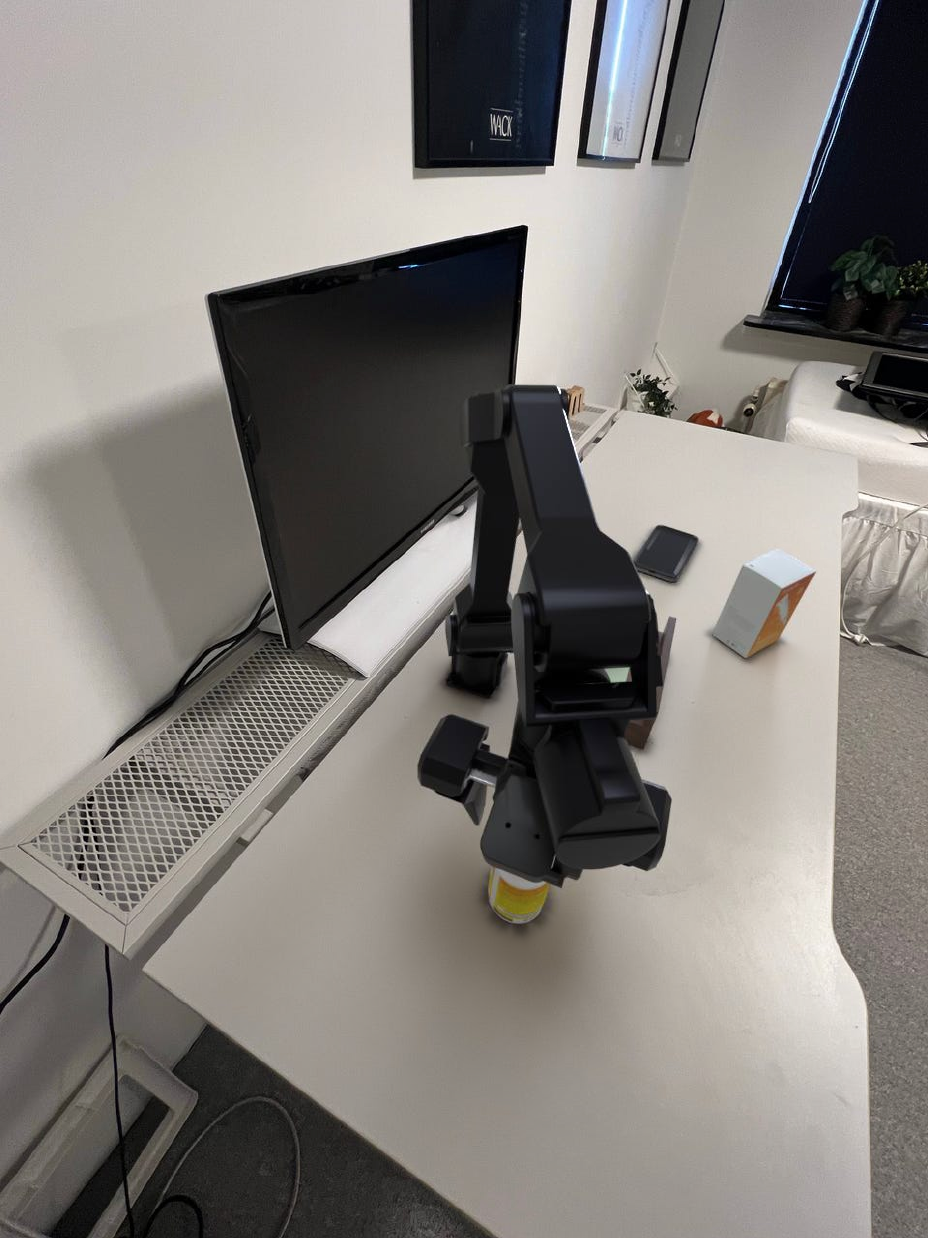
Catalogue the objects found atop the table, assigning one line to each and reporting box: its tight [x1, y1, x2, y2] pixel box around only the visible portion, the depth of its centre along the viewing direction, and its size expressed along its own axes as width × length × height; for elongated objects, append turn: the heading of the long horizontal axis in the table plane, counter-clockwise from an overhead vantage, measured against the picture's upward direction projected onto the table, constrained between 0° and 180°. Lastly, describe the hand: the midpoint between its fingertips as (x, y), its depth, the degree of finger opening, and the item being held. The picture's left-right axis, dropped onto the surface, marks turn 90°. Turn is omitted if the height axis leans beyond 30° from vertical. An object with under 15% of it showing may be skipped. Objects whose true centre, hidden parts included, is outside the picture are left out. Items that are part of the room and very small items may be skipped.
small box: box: [711, 548, 817, 659], centre depth 84 cm, size 8×6×13 cm
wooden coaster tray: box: [605, 616, 677, 750], centre depth 78 cm, size 14×18×7 cm
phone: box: [632, 524, 699, 583], centre depth 104 cm, size 8×1×15 cm
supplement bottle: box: [487, 857, 555, 924], centre depth 55 cm, size 6×6×10 cm
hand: (528, 840), depth 51 cm, fingers open, 9 cm apart
